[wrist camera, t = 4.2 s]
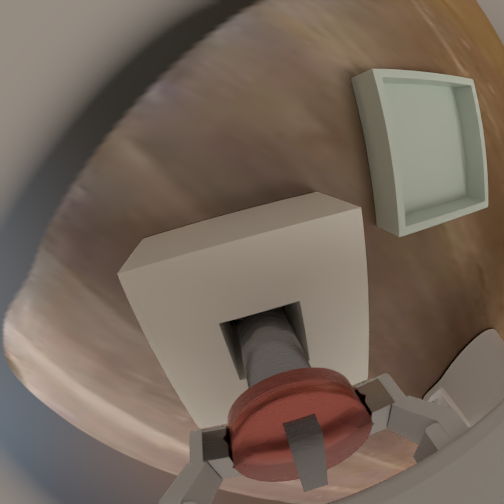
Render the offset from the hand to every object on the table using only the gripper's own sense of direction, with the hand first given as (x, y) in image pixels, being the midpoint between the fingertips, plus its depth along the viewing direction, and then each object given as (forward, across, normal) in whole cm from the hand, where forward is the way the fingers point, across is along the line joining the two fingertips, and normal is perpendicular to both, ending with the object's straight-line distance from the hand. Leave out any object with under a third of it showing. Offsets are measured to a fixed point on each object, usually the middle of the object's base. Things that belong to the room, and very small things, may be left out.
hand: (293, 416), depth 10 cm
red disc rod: (+11, 0, 0) cm, 11 cm away
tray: (+11, -16, -8) cm, 21 cm away
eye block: (+11, 0, 0) cm, 11 cm away
